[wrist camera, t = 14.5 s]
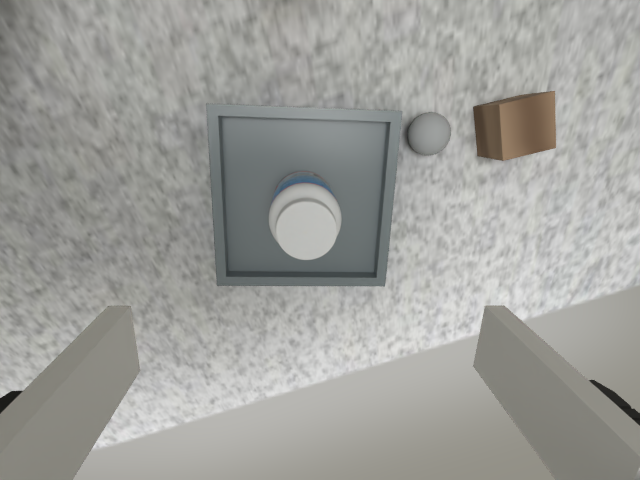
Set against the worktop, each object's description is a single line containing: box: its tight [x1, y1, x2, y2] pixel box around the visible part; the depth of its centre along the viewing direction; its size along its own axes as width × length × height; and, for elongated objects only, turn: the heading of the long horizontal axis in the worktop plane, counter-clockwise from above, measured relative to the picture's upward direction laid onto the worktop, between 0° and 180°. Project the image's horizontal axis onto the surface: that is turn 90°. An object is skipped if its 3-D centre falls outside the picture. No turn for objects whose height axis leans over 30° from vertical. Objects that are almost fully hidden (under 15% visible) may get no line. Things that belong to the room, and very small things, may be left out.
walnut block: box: [473, 91, 556, 161], centre depth 35 cm, size 5×5×5 cm
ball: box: [408, 112, 451, 155], centre depth 35 cm, size 4×4×4 cm
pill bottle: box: [269, 171, 342, 260], centre depth 32 cm, size 6×6×11 cm
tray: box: [206, 104, 402, 286], centre depth 37 cm, size 18×18×2 cm
